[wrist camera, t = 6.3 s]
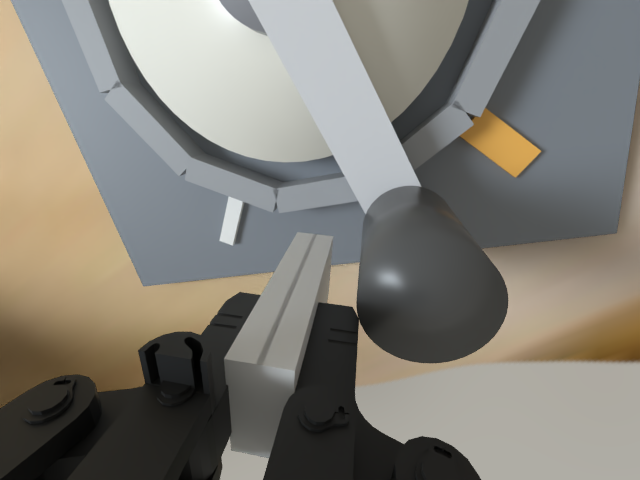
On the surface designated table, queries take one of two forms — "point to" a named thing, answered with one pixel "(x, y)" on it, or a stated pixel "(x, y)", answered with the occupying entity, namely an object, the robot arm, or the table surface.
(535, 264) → the table surface
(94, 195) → the table surface
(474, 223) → the panel
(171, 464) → the robot arm
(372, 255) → the dial
